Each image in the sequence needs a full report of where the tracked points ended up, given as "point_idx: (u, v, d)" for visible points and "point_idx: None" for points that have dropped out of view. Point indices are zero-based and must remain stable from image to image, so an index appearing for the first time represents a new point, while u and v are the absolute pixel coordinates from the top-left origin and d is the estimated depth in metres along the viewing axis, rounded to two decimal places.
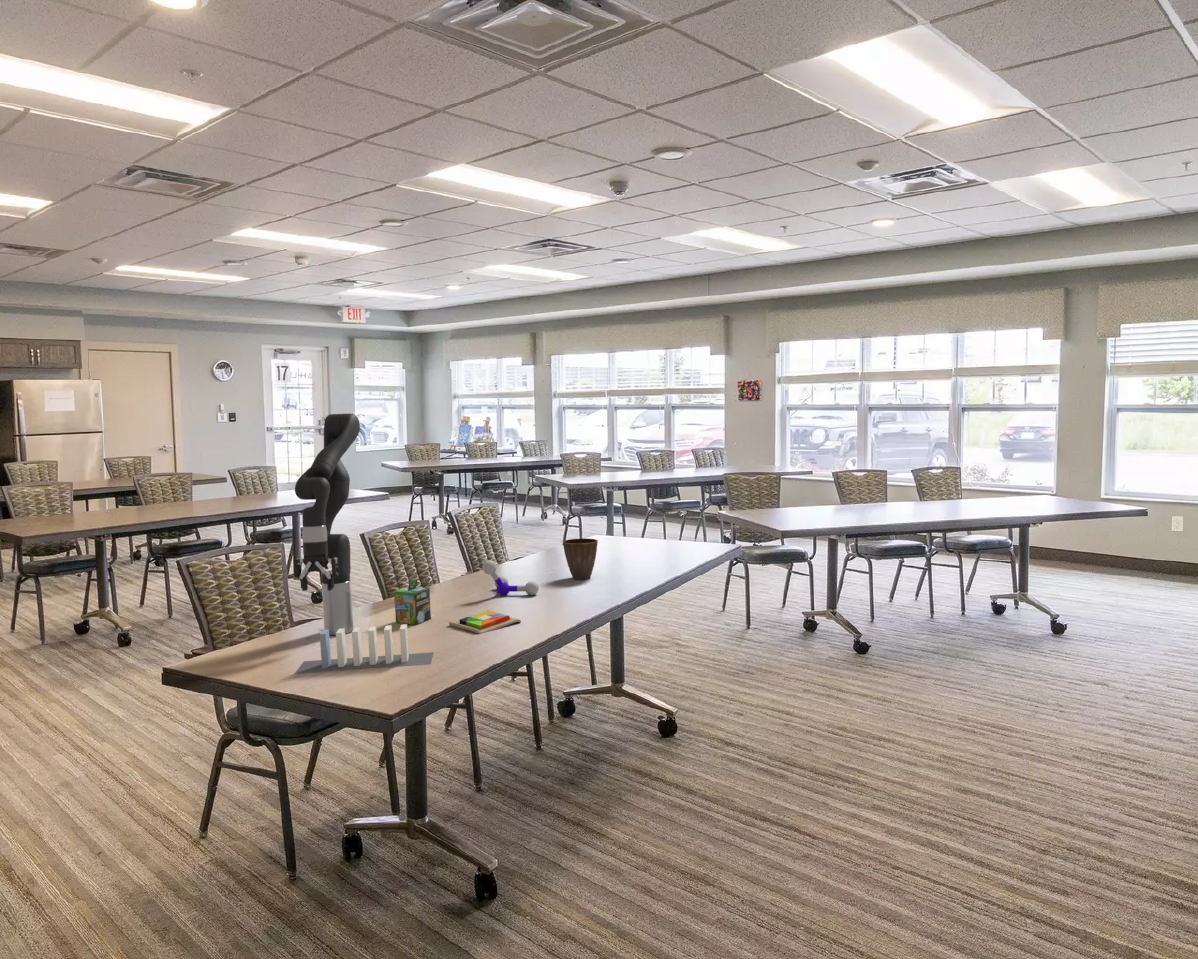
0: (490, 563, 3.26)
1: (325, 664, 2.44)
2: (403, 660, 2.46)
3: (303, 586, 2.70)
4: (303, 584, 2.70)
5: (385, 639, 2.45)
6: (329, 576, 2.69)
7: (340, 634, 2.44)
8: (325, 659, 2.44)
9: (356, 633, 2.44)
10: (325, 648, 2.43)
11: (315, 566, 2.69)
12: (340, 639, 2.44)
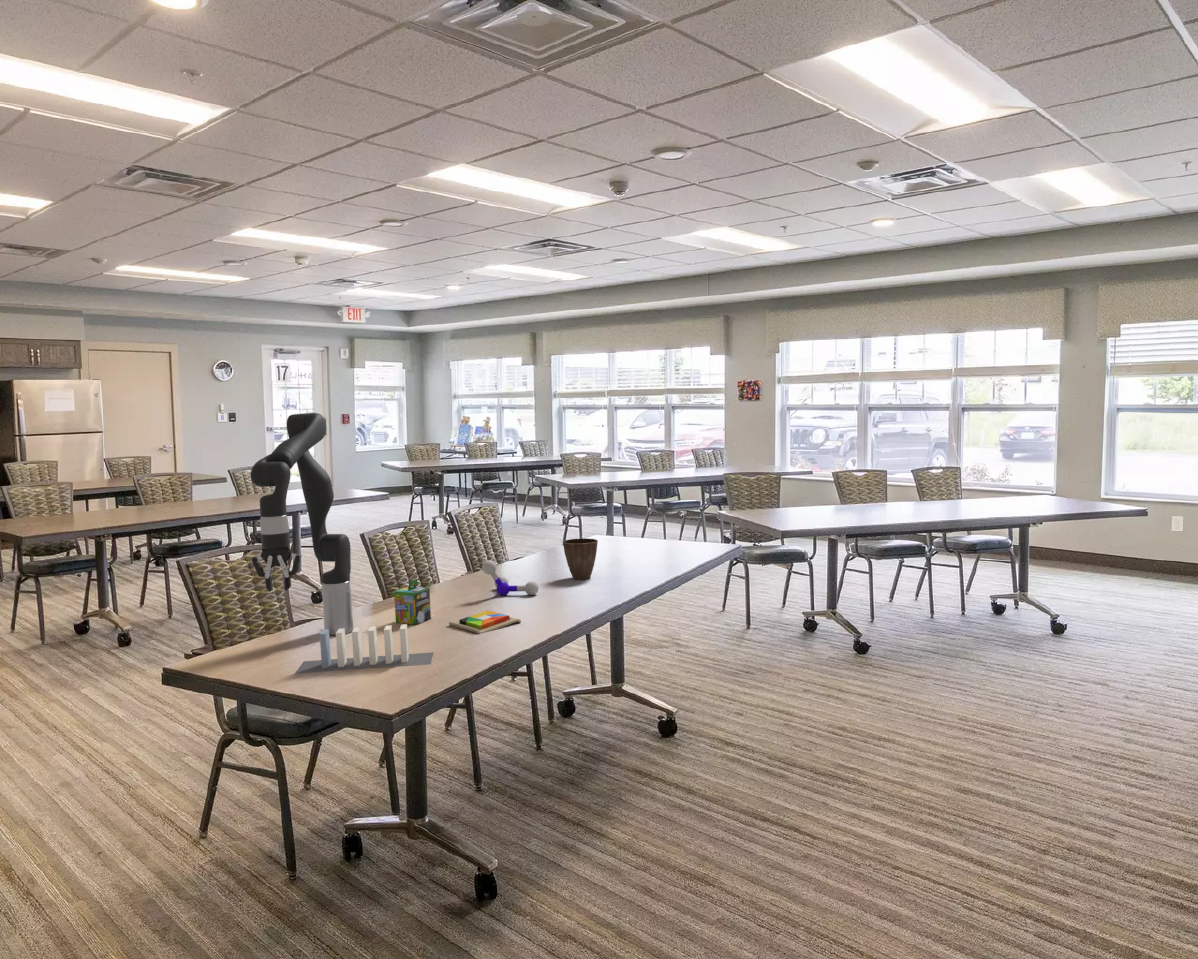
0: (490, 563, 3.26)
1: (325, 664, 2.44)
2: (403, 660, 2.46)
3: None
4: None
5: (385, 639, 2.45)
6: None
7: (340, 634, 2.44)
8: (325, 659, 2.44)
9: (356, 633, 2.44)
10: (325, 648, 2.43)
11: None
12: (340, 639, 2.44)
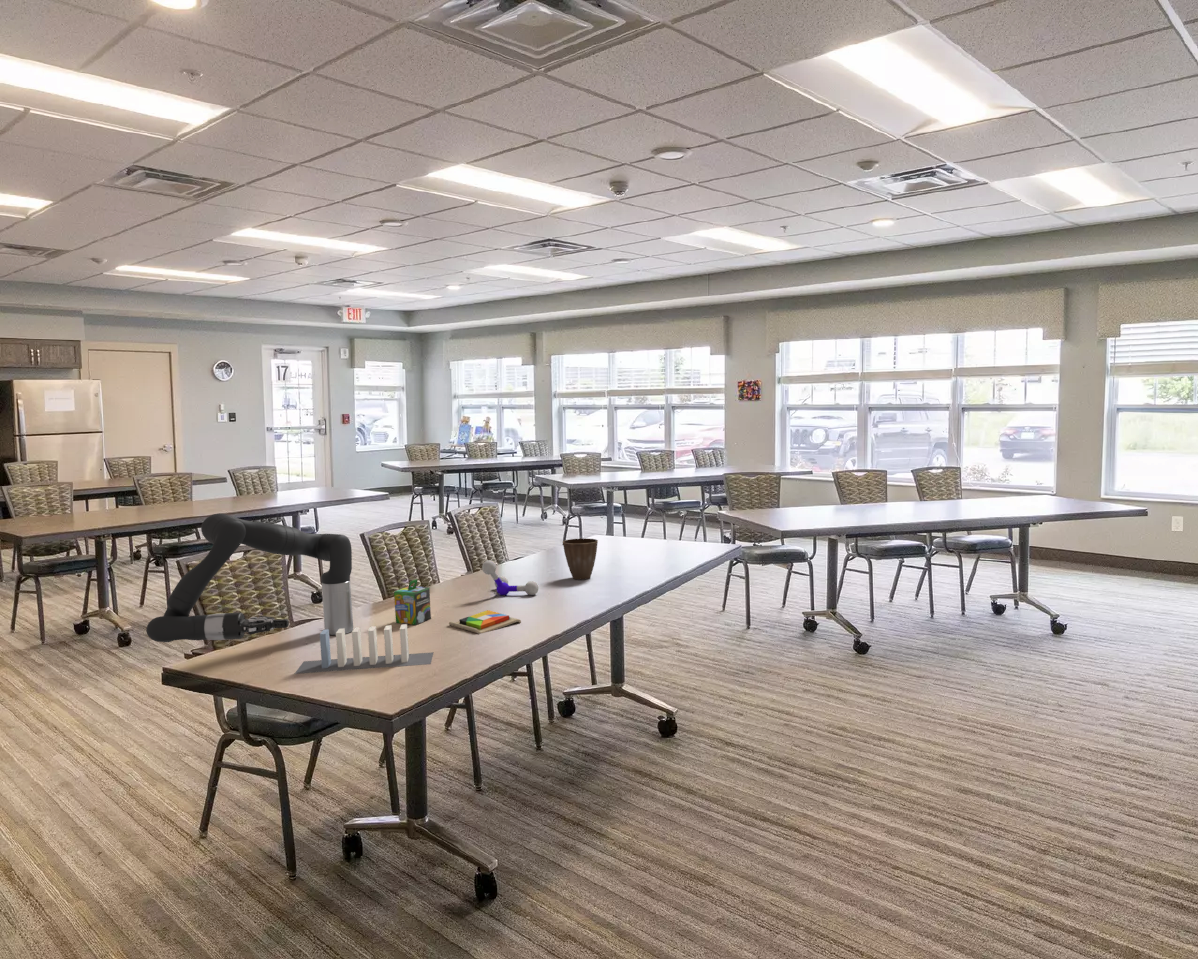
0: (490, 563, 3.26)
1: (325, 664, 2.44)
2: (403, 660, 2.46)
3: (282, 620, 2.43)
4: None
5: (385, 639, 2.45)
6: (272, 618, 2.44)
7: (340, 634, 2.44)
8: (325, 659, 2.44)
9: (356, 633, 2.44)
10: (325, 648, 2.43)
11: None
12: (340, 639, 2.44)
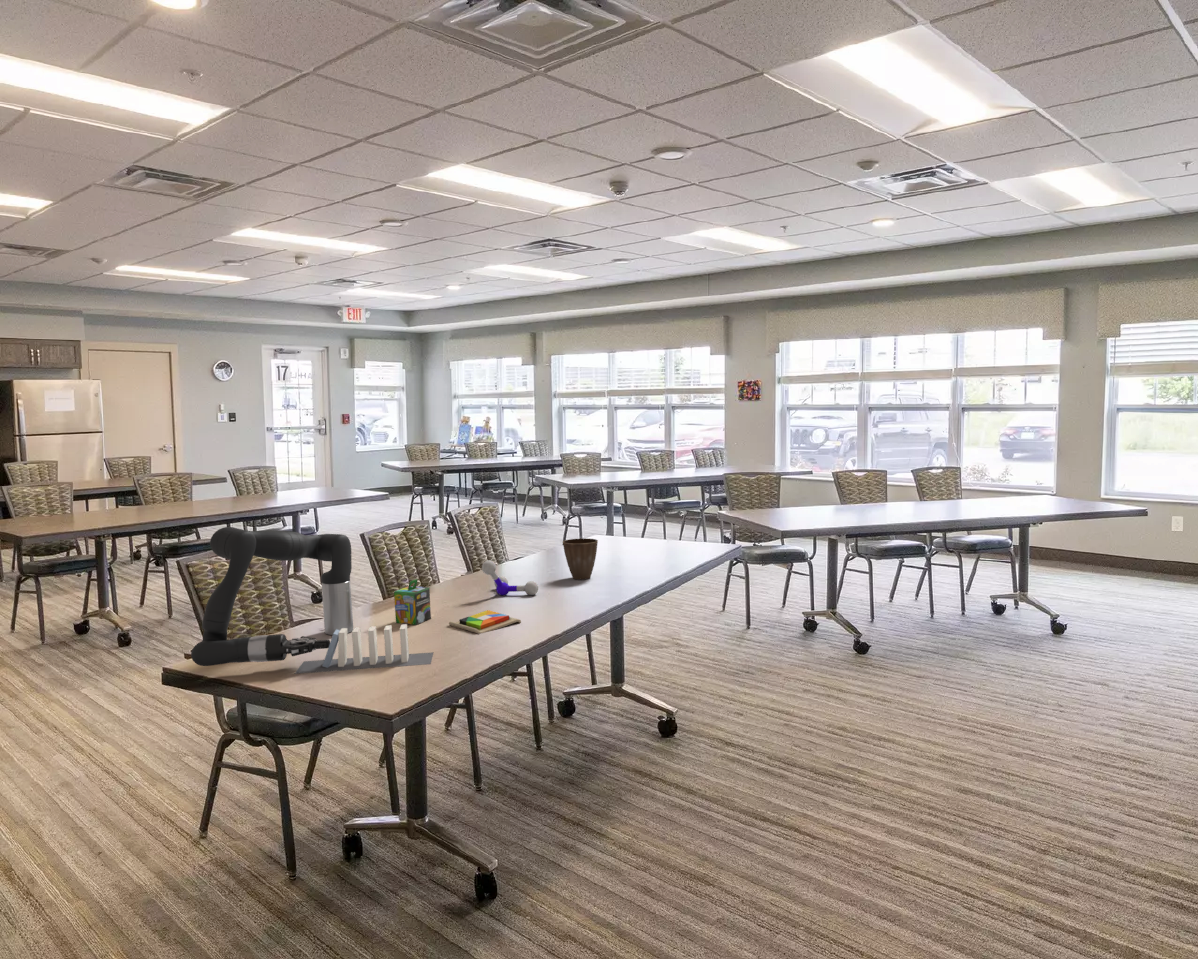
0: (490, 563, 3.25)
1: (326, 663, 2.44)
2: (403, 660, 2.46)
3: (323, 640, 2.45)
4: (321, 641, 2.45)
5: (385, 639, 2.45)
6: (314, 639, 2.46)
7: (343, 634, 2.44)
8: (328, 659, 2.44)
9: (356, 633, 2.44)
10: (333, 648, 2.44)
11: None
12: (342, 639, 2.44)
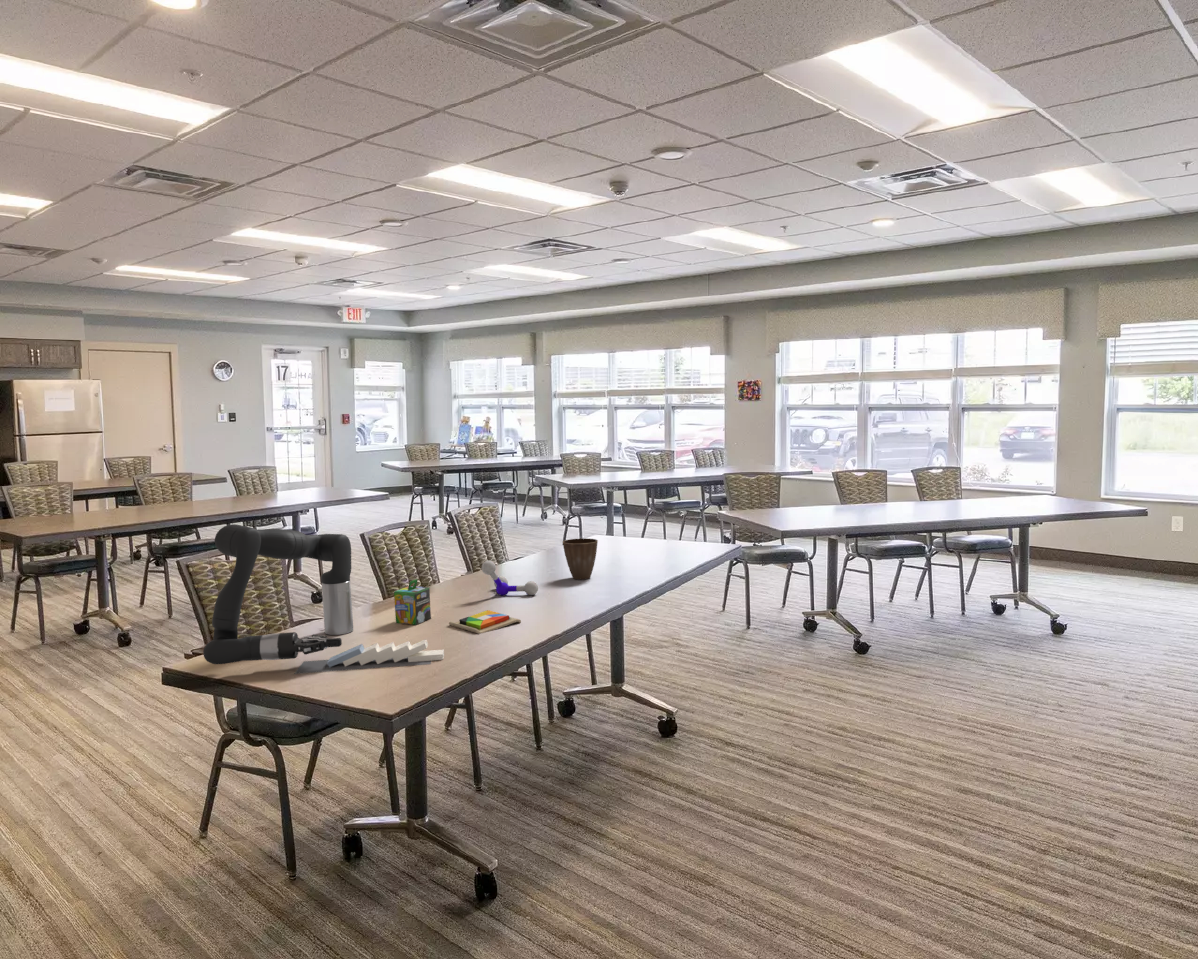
0: (489, 563, 3.25)
1: (332, 664, 2.44)
2: (410, 658, 2.46)
3: (335, 639, 2.46)
4: (333, 639, 2.46)
5: (415, 648, 2.47)
6: (325, 638, 2.47)
7: (375, 652, 2.45)
8: (336, 662, 2.44)
9: (391, 651, 2.46)
10: (347, 658, 2.44)
11: None
12: (370, 653, 2.45)
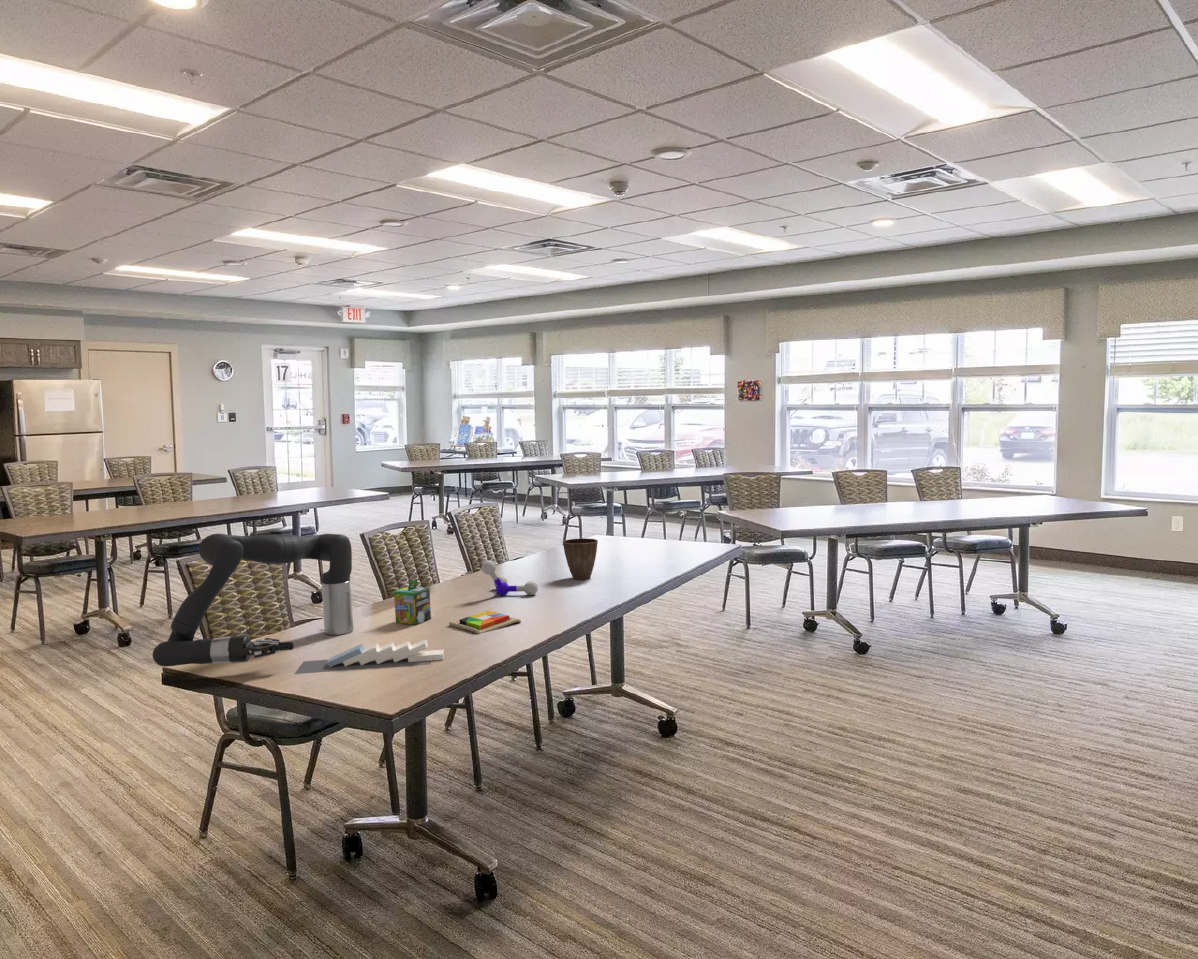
0: (489, 563, 3.25)
1: (332, 664, 2.44)
2: (410, 658, 2.46)
3: (287, 642, 2.44)
4: (285, 642, 2.44)
5: (415, 648, 2.47)
6: (278, 641, 2.45)
7: (375, 652, 2.45)
8: (336, 662, 2.44)
9: (391, 651, 2.46)
10: (347, 658, 2.44)
11: None
12: (370, 653, 2.45)
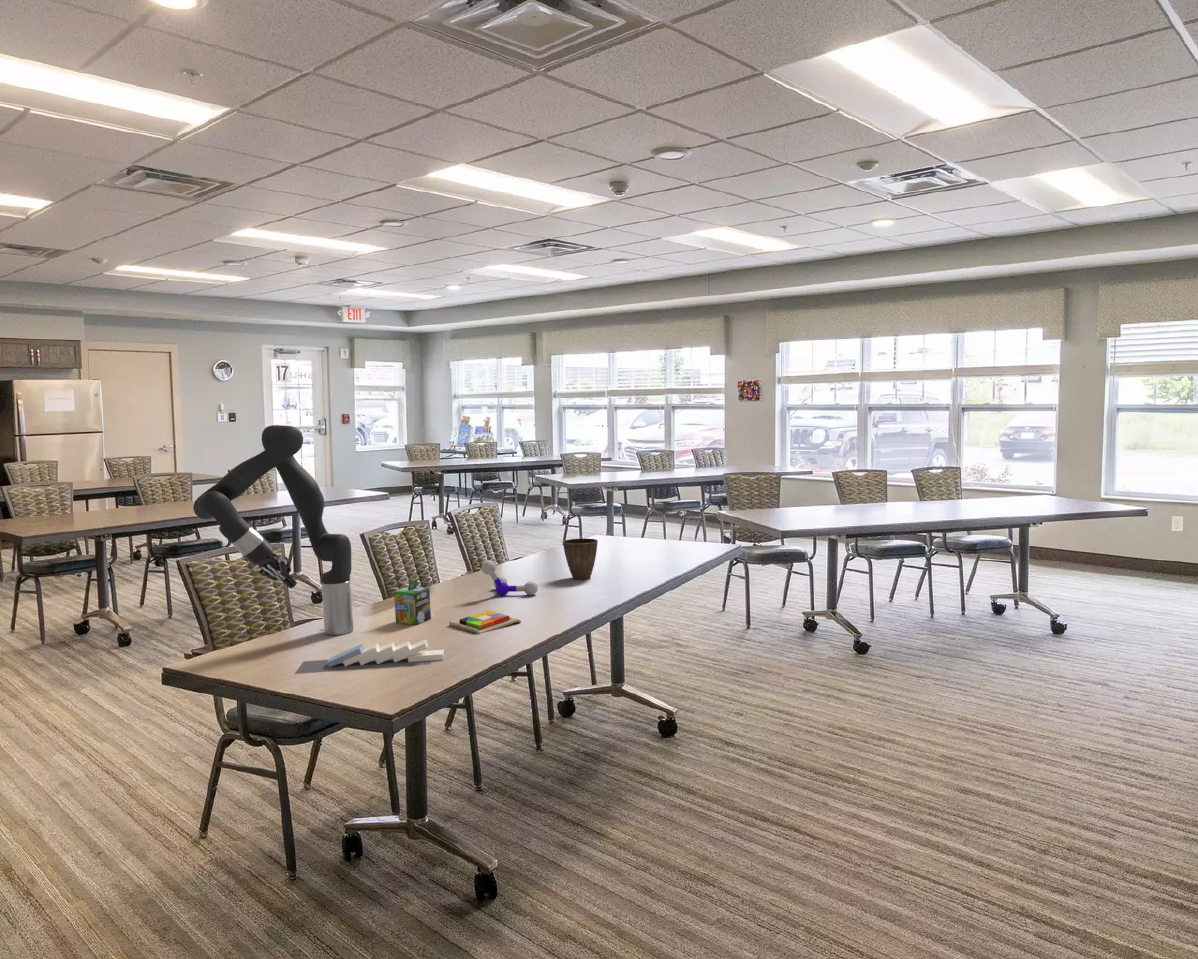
0: (489, 563, 3.25)
1: (332, 664, 2.44)
2: (410, 658, 2.46)
3: None
4: None
5: (415, 648, 2.47)
6: None
7: (375, 652, 2.45)
8: (336, 662, 2.44)
9: (391, 651, 2.46)
10: (347, 658, 2.44)
11: None
12: (370, 653, 2.45)
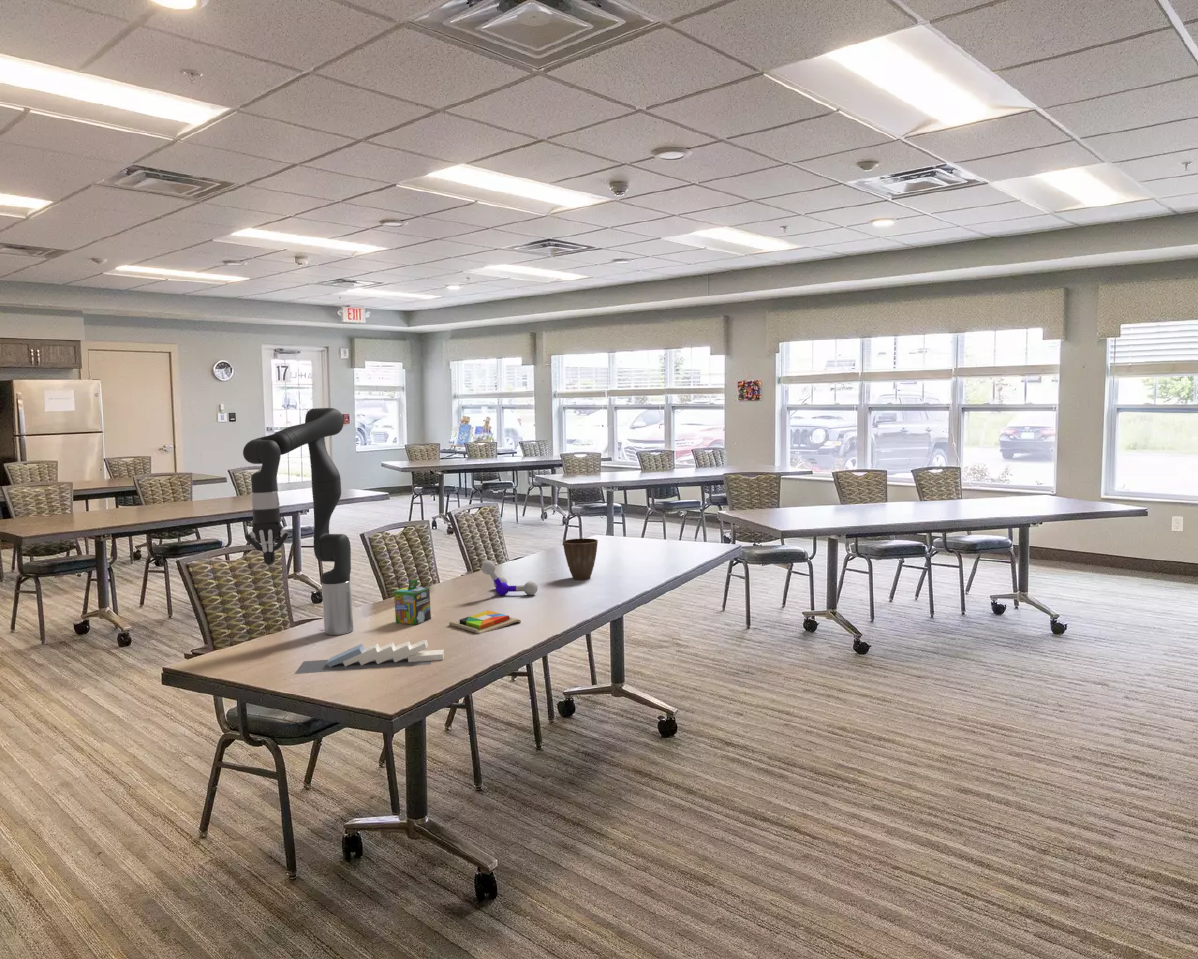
0: (489, 563, 3.25)
1: (332, 664, 2.44)
2: (410, 658, 2.46)
3: None
4: None
5: (415, 648, 2.47)
6: None
7: (375, 652, 2.45)
8: (336, 662, 2.44)
9: (391, 651, 2.46)
10: (347, 658, 2.44)
11: None
12: (370, 653, 2.45)
